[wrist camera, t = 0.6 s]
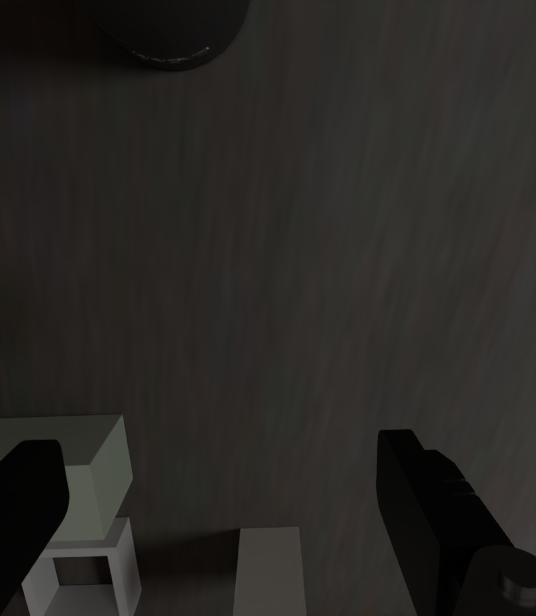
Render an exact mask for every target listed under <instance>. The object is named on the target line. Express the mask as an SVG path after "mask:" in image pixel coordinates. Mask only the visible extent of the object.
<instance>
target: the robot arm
mask: <svg viewBox="0 0 536 616" xmlns="http://www.w3.org/2000/svg"><path fill="white" fill-rule="evenodd" d="M73 1H74V2H75V3H76V4H77V5H78V6H79V7H80V8H81V9H82V10H84V11H85V12H86V13H87V14H88V15H89V16H90V17H91V18H92V19H93V20H94V21H95V22H96V23H97V24H98V25H99V26H100V27H101V28H102V29H103V30H105V31H106V32H107V33H108V34H109V35H110V36H111V37H112V38H113V39H114V40H115V41H116V42H117V43H118V44H120V45H121V46H122V47H123V48H124V49H125V50H126V51H128V52H129V53H130V54H131V55H132V56H133V57H135V58H137V59H139V60H140V61H142V62H144V63H146V64H147V65H150V66H154V67H157V68H160V69H163V70H177V71H181V70H187V69H192V68H196V67H199V66H201V65H203V64H206V63H208V62H210V61H212V60H213V59H214V58H216V57H217V56H218V55H220V54H221V53H222V52H224V50H225V49H226V48H227V47H228V46H229V45H230V43H231V42H232V41H233V40H234V39H235V37H236V35H237V33H238V32H239V30H240V28H241V26H242V24H243V22H244V19H245V16H246V13H247V10H248V7H249V2H250V0H73ZM376 490H377V499H378V505H379V509H380V513H381V516H382V518H383V521H384V524H385V527H386V529H387V532H388V535H389V538H390V541H391V543H392V546H393V549H394V552H395V554H396V557H397V560H398V563H399V566H400V568H401V571H402V574H403V577H404V579H405V582H406V585H407V588H408V591H409V593H410V596H411V599H412V602H413V604H414V607H415V610H416V613H417V616H536V556H534V555H533V554H530V553H528V552H526V551H524V550H521V549H518V548H515V547H514V545H513V544H512V543H511V541H510V540H509V538H508V537H507V536H506V534H505V533H504V531H503V530H502V529H501V527H500V526H499V524H498V523H497V522H496V520H495V519H494V517H493V516H492V515H491V513H490V512H489V510H488V509H487V508H486V506H485V505H484V504H483V502H482V501H481V499H480V498H479V497H478V496H476V494H475V491H474V490H473V488H472V487H471V485H470V484H469V483H468V482H466V478H465V477H464V476H463V474H462V473H461V472H460V470H459V469H458V467H457V466H456V465H455V463H454V462H452V461H451V460H450V459H448V458H447V457H445V456H444V455H443V454H441V453H440V452H438V451H437V450H424V448H423V447H422V445H421V444H420V442H419V440H418V439H417V437H416V436H415V434H414V433H413V431H412V430H410V429H401V430H380V431H379V433H378V445H377V477H376ZM69 499H70V493H69V487H68V481H67V476H66V470H65V465H64V459H63V454H62V449H61V445H60V443H59V442H58V441H57V440H56V439H44V440H24V441H21V442H20V443H19V444H18V445H17V446H16V447H15V448H13V449H12V450H11V451H10V452H9V453H8V454H7V455H6V456H5V457H4V458H3V459H2V460H1V461H0V615H1V614H2V612H3V611H4V609H5V608H6V606H7V605H8V603H9V602H10V600H11V599H12V597H13V596H14V594H15V593H16V591H17V590H18V588H19V587H20V585H21V584H22V582H23V581H24V579H25V578H26V576H27V575H28V573H29V572H30V570H31V569H32V567H33V566H34V564H35V562H36V561H37V559H38V558H39V556H40V555H41V553H42V552H43V550H44V549H45V547H46V546H47V544H48V543H49V541H50V540H51V538H52V537H53V535H54V534H55V532H56V531H57V529H58V528H59V526H60V525H61V523H62V522H63V520H64V518H65V516H66V513H67V510H68V506H69Z"/></svg>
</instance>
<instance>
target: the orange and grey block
mask: <svg viewBox="0 0 536 616" xmlns="http://www.w3.org/2000/svg"><path fill="white" fill-rule="evenodd" d="M233 616H306V606H305V594H304V582H303V570H302V559H301V547H300V535H299V527H276V528H243V529H240V540H239V552H238V564H237V575H236V587H235V599H234V610H233Z"/></svg>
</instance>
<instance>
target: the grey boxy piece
mask: <svg viewBox="0 0 536 616" xmlns="http://www.w3.org/2000/svg"><path fill="white" fill-rule="evenodd" d="M44 439H56V440H57V441H58V442H59V443H60V445H61V449H62V454H63V459H64V465H65V470H66V476H67V481H68V487H69V493H70V499H69V506H68V510H67V513H66V516H65V518H64V520H63V522H62V523H61V525H60V526H59V528H58V529H57V531H56V532H55V534H54V535H53V537H52V538H51V540H50V541H49V543H48V544H47V546H46V547H45V549H44V550H43V552H42V553H41V555H40V556H39V558H38V559H37V561H36V562H35V564H34V566H33V567H32V569H31V570H30V572H29V573H28V575H27V576H26V578H25V579H24V581H23V582H22V588H23V591H24V595H25V598H26V601H27V605H28V608H29V612H30V615H31V616H134V613H135V610H136V606H137V603H138V600H139V597H140V594H141V591H142V589H141V583H140V578H139V572H138V566H137V561H136V555H135V549H134V544H133V538H132V532H131V526H130V521H129V517H119V518H115V516H116V514H117V512H118V510H119V507H120V505H121V503H122V501H123V499H124V497H125V495H126V492H127V490H128V488H129V486H130V484H131V482H132V480H133V475H132V469H131V463H130V457H129V451H128V445H127V439H126V433H125V427H124V421H123V415H122V414H113V415H85V416H56V417H28V418H0V461H1V460H2V459H3V458H4V457H5V456H6V455H7V454H8V453H9V452H10V451H11V450H12V449H13V448H15V447H16V446H17V445H18V444H19V443H20V442H21V441H24V440H44ZM81 556H108V561H109V566H110V571H111V576H112V581H113V584H102V585H67V586H59V583H58V579H57V575H56V571H55V567H54V563H53V559H52V557H81Z"/></svg>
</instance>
